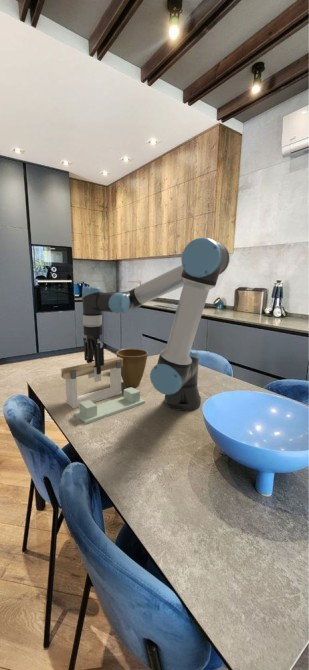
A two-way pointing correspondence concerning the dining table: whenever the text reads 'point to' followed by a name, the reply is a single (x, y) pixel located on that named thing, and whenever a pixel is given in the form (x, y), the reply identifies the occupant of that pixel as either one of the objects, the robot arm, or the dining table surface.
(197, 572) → the dining table surface
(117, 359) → the rail
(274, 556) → the dining table surface
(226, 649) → the dining table surface
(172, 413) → the dining table surface
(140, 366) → the plant pot
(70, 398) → the stand
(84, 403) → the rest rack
